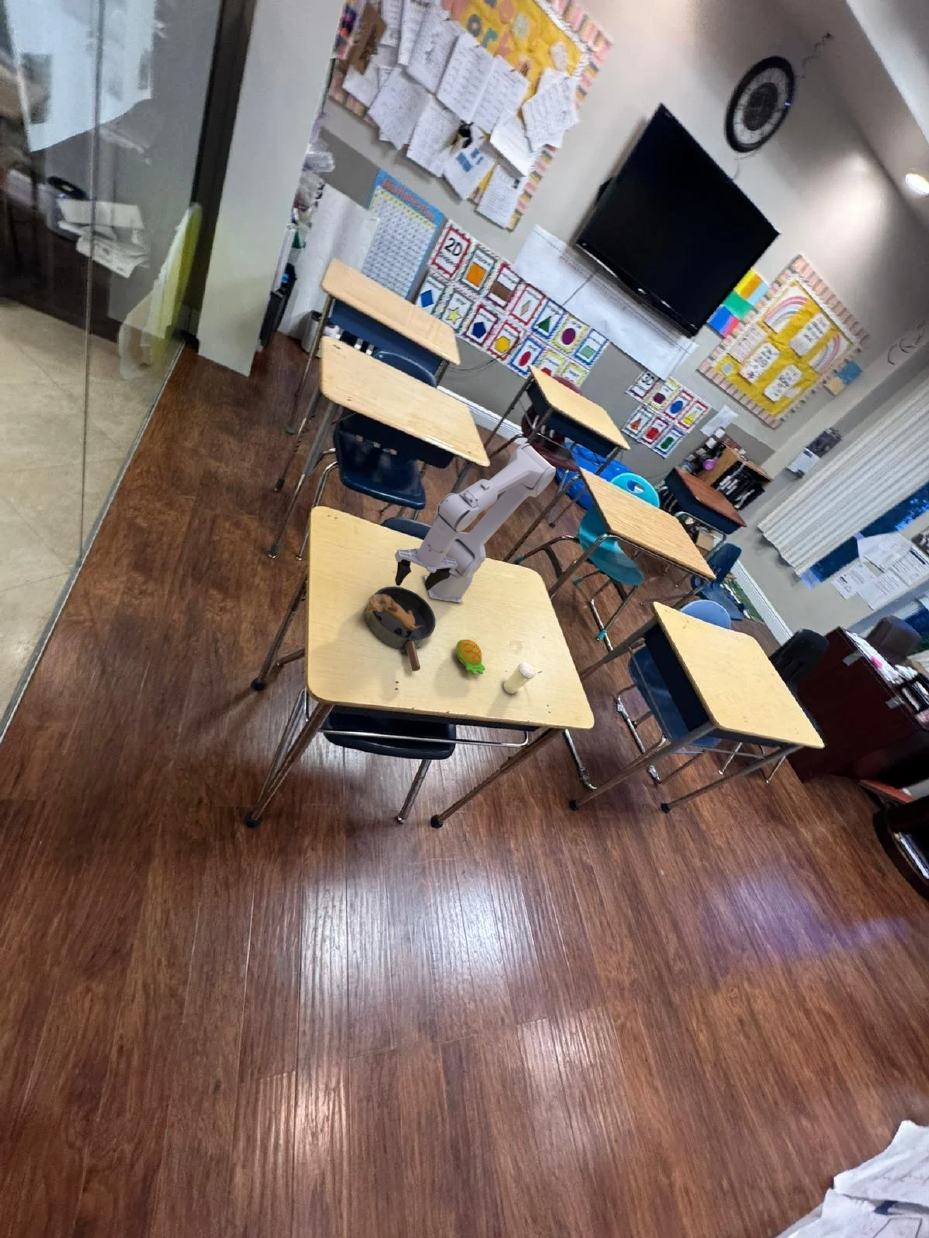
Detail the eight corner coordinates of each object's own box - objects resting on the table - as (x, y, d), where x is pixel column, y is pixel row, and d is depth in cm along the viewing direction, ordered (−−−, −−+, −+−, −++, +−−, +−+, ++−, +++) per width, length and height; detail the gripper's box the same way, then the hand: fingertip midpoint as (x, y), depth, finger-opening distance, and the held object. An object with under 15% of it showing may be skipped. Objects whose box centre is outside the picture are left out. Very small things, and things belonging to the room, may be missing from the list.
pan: (420, 601, 132) (427, 591, 130) (435, 652, 123) (442, 642, 120) (361, 593, 124) (366, 581, 121) (371, 647, 114) (377, 636, 112)
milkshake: (518, 700, 126) (541, 678, 120) (499, 691, 125) (522, 668, 119) (520, 687, 130) (542, 664, 123) (502, 677, 129) (523, 654, 122)
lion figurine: (363, 606, 121) (362, 610, 112) (374, 586, 120) (374, 588, 112) (418, 635, 123) (421, 641, 115) (429, 616, 123) (433, 620, 114)
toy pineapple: (469, 646, 130) (479, 633, 127) (484, 679, 125) (495, 667, 122) (446, 646, 126) (456, 633, 123) (461, 681, 121) (472, 668, 118)
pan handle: (400, 649, 118) (407, 639, 116) (408, 650, 119) (415, 639, 117) (406, 676, 114) (413, 665, 111) (414, 676, 115) (421, 666, 113)
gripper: (410, 550, 105) (386, 593, 114) (470, 561, 113) (443, 601, 122) (404, 527, 109) (380, 570, 118) (461, 539, 117) (436, 579, 126)
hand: (411, 584), depth 120 cm, fingers open, 7 cm apart
